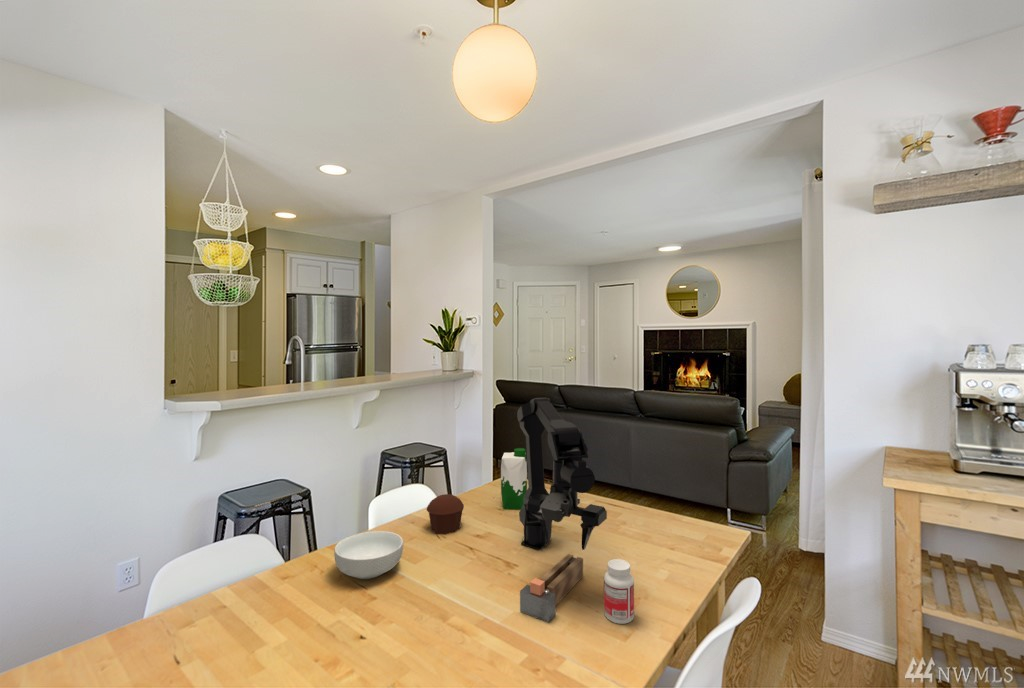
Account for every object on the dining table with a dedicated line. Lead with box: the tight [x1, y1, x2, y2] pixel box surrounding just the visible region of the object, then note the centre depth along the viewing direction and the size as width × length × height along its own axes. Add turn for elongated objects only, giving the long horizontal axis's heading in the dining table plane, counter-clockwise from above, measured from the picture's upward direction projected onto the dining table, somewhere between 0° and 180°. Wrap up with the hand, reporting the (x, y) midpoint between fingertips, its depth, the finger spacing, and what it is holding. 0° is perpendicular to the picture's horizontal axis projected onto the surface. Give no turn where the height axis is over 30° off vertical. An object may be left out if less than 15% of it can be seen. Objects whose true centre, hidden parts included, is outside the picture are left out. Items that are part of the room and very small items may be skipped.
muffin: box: [426, 493, 465, 535], centre depth 141 cm, size 12×11×10 cm
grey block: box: [519, 584, 556, 623], centre depth 98 cm, size 7×4×5 cm, turn 57°
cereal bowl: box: [333, 530, 404, 580], centre depth 116 cm, size 17×17×7 cm
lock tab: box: [529, 577, 545, 596], centre depth 97 cm, size 2×2×2 cm
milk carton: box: [500, 447, 528, 511], centre depth 160 cm, size 9×9×20 cm
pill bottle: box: [603, 558, 635, 625], centre depth 96 cm, size 6×6×11 cm
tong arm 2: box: [547, 556, 584, 607], centre depth 106 cm, size 16×2×4 cm, turn 147°
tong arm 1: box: [539, 553, 576, 590], centre depth 107 cm, size 16×2×4 cm, turn 147°
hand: (565, 544), depth 108 cm, fingers open, 9 cm apart
